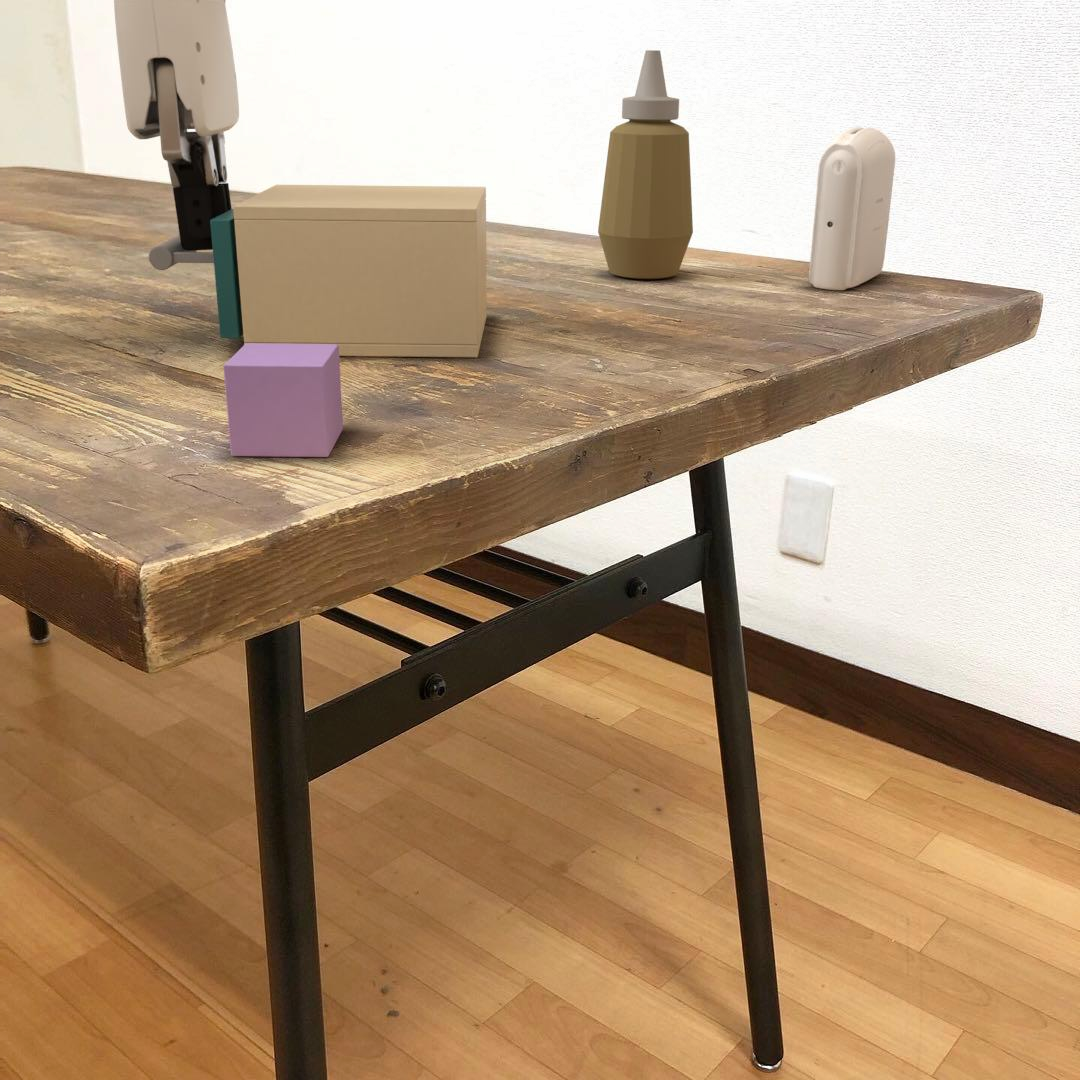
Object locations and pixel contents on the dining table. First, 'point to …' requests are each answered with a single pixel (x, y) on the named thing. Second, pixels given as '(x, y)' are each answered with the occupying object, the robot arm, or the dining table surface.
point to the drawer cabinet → (365, 268)
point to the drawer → (223, 266)
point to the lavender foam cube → (284, 400)
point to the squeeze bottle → (647, 183)
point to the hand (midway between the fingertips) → (209, 247)
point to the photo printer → (852, 209)
